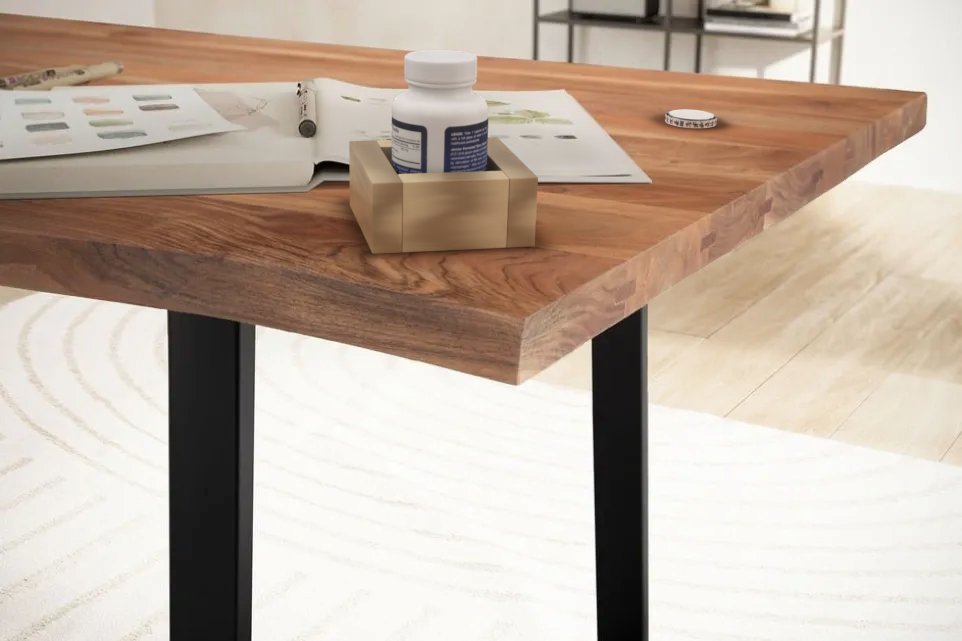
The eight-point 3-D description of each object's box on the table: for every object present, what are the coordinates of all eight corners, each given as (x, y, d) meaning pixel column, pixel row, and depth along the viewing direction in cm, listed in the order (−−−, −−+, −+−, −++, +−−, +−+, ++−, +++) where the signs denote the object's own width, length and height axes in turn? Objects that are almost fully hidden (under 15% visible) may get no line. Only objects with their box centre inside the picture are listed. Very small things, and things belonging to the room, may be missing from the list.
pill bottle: (486, 213, 73) (491, 48, 69) (484, 242, 68) (490, 66, 64) (395, 210, 73) (396, 44, 69) (386, 239, 68) (387, 62, 64)
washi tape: (672, 114, 99) (673, 106, 99) (721, 120, 98) (722, 112, 98) (659, 124, 96) (659, 116, 95) (709, 130, 94) (710, 122, 94)
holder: (372, 255, 65) (372, 182, 64) (349, 206, 74) (349, 140, 72) (534, 247, 67) (538, 177, 66) (495, 200, 76) (497, 137, 74)
